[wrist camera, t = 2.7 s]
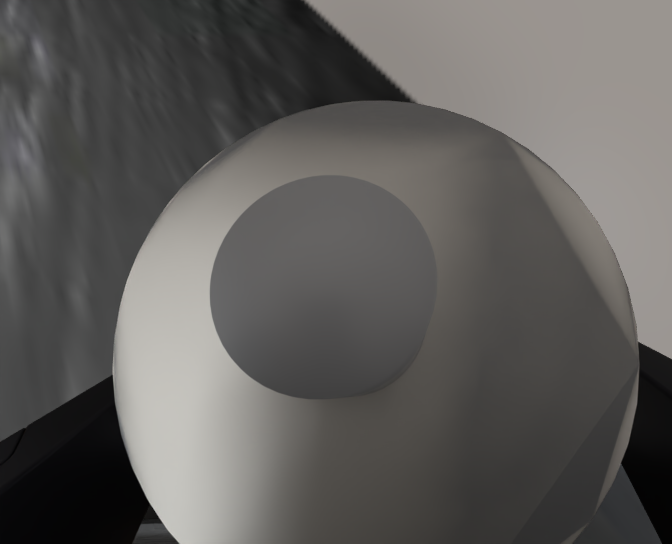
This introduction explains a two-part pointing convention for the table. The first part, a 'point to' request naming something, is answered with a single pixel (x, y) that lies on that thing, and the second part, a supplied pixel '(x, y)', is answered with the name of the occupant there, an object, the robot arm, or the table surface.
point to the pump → (376, 340)
